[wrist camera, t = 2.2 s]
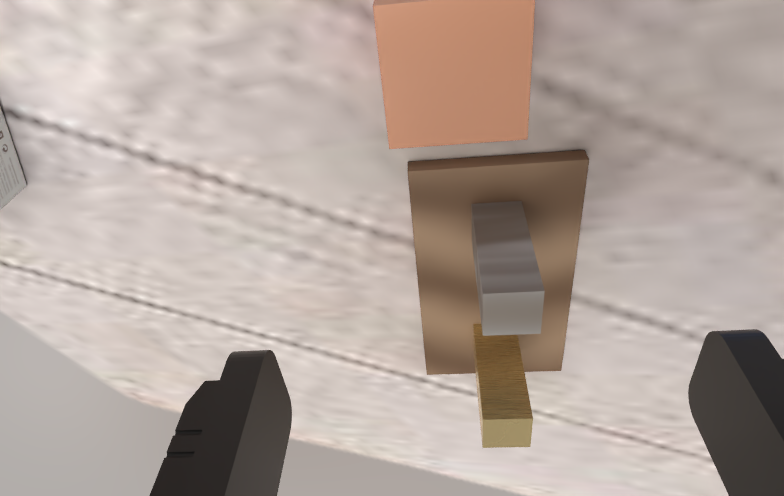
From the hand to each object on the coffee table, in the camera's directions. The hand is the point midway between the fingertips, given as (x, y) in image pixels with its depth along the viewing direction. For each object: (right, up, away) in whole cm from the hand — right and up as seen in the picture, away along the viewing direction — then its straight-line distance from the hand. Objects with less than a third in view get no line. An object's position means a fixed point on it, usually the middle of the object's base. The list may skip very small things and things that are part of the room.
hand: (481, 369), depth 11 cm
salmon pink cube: (+1, +12, +14) cm, 19 cm away
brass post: (+5, -3, +26) cm, 26 cm away
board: (+4, +1, +23) cm, 23 cm away
